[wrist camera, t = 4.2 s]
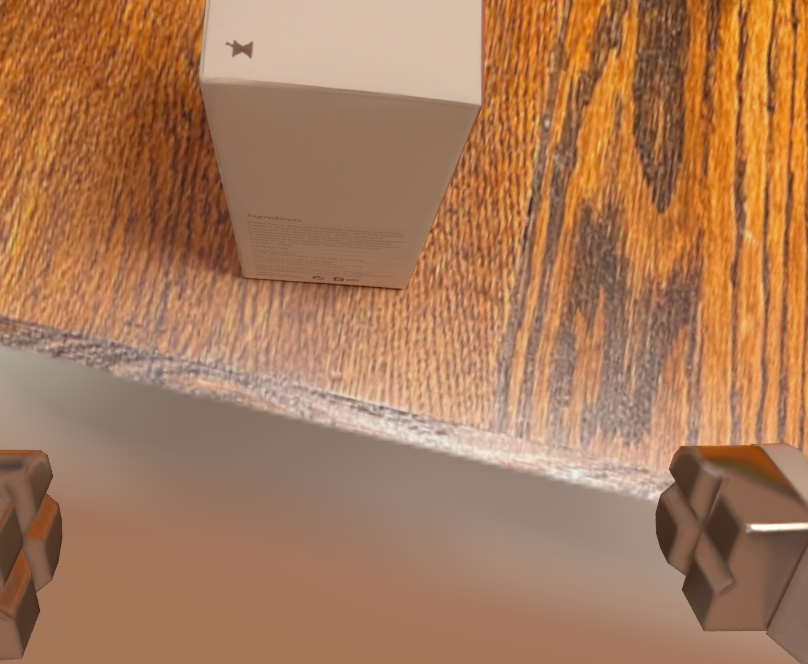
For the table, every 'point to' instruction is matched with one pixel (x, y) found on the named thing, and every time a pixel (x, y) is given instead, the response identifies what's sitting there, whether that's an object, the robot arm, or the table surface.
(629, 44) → the table surface
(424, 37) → the small box
